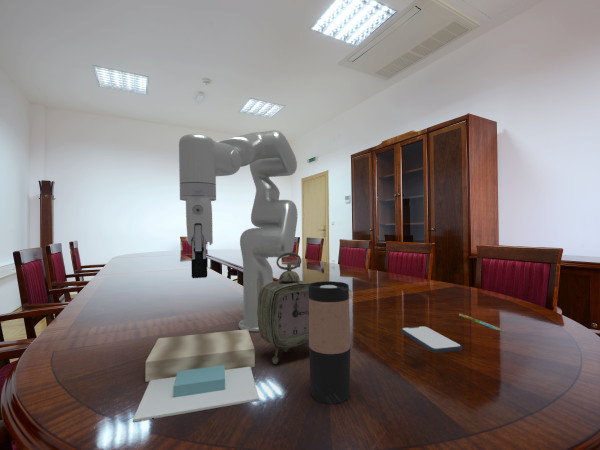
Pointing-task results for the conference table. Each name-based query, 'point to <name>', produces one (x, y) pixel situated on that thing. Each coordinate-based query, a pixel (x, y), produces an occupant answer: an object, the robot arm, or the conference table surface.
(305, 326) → the tabletop clock
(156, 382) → the mat
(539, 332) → the conference table surface
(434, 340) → the phone case
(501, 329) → the pencil
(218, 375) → the blue rectangular block
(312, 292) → the travel mug
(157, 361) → the beige flat block
